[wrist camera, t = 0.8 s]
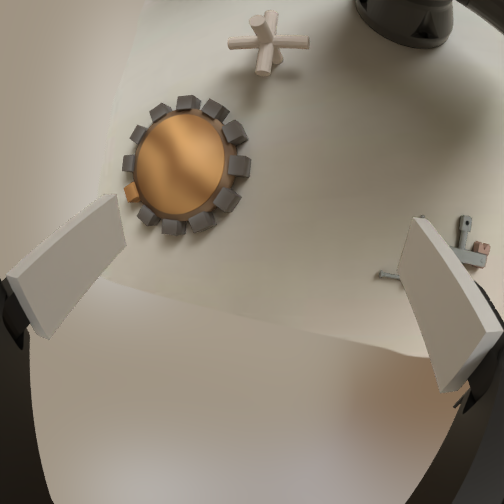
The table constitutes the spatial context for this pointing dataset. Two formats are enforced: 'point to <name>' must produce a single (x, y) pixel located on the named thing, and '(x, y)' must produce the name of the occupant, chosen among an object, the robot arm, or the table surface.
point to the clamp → (462, 249)
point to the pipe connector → (267, 42)
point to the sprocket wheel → (186, 165)
